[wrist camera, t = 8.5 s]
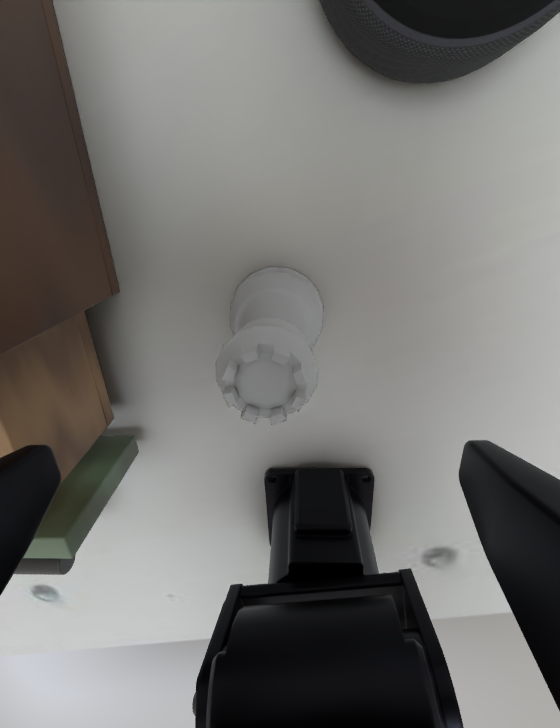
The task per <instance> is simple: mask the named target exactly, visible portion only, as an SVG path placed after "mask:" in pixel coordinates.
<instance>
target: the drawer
mask: <svg viewBox="0 0 560 728" xmlns="http://www.w3.org/2000/svg"><path fill="white" fill-rule="evenodd" d="M113 419H114V415H113V412H112V408H111V405H110V401H109V398H108V394H107V390H106V387H105V383H104V380H103V376H102V373H101V369H100V366H99V362H98V358H97V355H96V351H95V348H94V344H93V341H92V337H91V334H90V330H89V326H88V323H87V319H86V316H85V312H84V311H83V312H81V313H79V314H77V315H76V316H74V317H72V318H70V319H68V320H66V321H64V322H62V323H61V324H59V325H57V326H55V327H53V328H51V329H49V330H47V331H46V332H44V333H42V334H40V335H38V336H36V337H34V338H32V339H31V340H29V341H27V342H25V343H23V344H21V345H19V346H17V347H16V348H14V349H12V350H10V351H8V352H6V353H4V354H2V355H1V356H0V458H1V457H3V456H5V455H7V454H10V453H12V452H14V451H16V450H18V449H20V448H23V447H25V446H27V445H48V446H50V447H51V448H52V450H53V453H54V455H55V458H56V461H57V463H58V466H59V469H60V471H61V483H60V486H59V488H58V490H57V492H56V494H55V496H54V498H53V500H52V502H51V504H50V506H49V508H48V510H47V512H46V514H45V516H44V518H43V520H42V522H41V524H40V527H39V529H38V531H37V533H36V535H35V537H34V539H33V541H32V543H31V545H30V546H29V548H28V550H27V552H26V554H25V555H24V557H23V559H22V561H21V562H20V564H19V566H18V567H17V569H16V571H15V572H14V574H45V575H64V574H66V573H67V572H69V570H70V569H71V568H72V566H73V563H74V560H75V554H76V552H77V551H78V549H79V547H80V546H81V544H82V543H83V541H84V539H85V538H86V536H87V535H88V533H89V531H90V530H91V528H92V527H93V525H94V523H95V522H96V520H97V519H98V517H99V515H100V514H101V512H102V510H103V509H104V507H105V506H106V504H107V502H108V501H109V499H110V498H111V496H112V494H113V493H114V491H115V490H116V488H117V486H118V485H119V483H120V482H121V480H122V478H123V477H124V475H125V473H126V472H127V470H128V469H129V467H130V465H131V464H132V462H133V461H134V459H135V457H136V456H137V454H138V452H139V451H138V447H137V443H136V439H135V436H100V435H101V434H102V433H103V432H104V431H105V429H106V428H107V426H108V425H109V424H110V423H111V422H112V421H113Z"/></svg>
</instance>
